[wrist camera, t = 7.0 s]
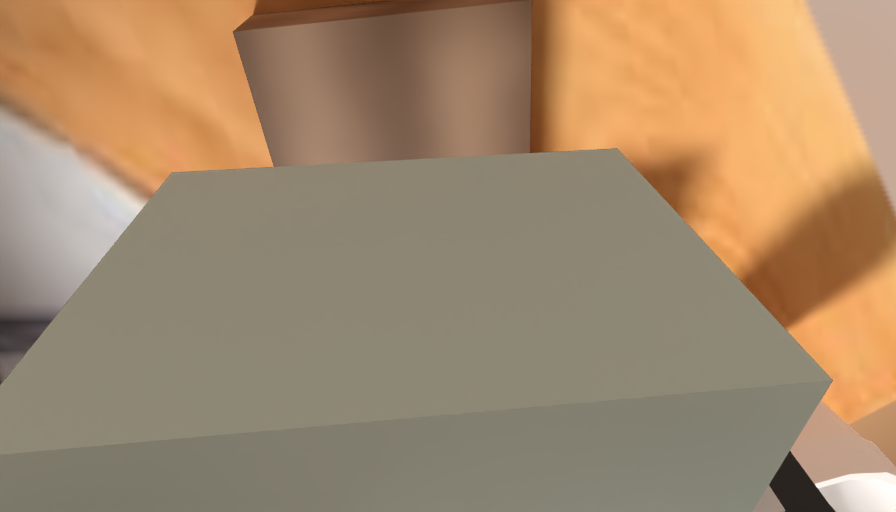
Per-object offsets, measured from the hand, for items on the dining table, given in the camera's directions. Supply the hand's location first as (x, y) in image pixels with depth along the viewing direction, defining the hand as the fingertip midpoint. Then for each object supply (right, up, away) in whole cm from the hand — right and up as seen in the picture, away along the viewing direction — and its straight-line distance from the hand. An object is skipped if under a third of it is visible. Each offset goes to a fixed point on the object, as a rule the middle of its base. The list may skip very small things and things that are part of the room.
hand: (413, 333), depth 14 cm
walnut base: (-1, +9, +13) cm, 16 cm away
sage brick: (0, 0, 0) cm, 0 cm away
